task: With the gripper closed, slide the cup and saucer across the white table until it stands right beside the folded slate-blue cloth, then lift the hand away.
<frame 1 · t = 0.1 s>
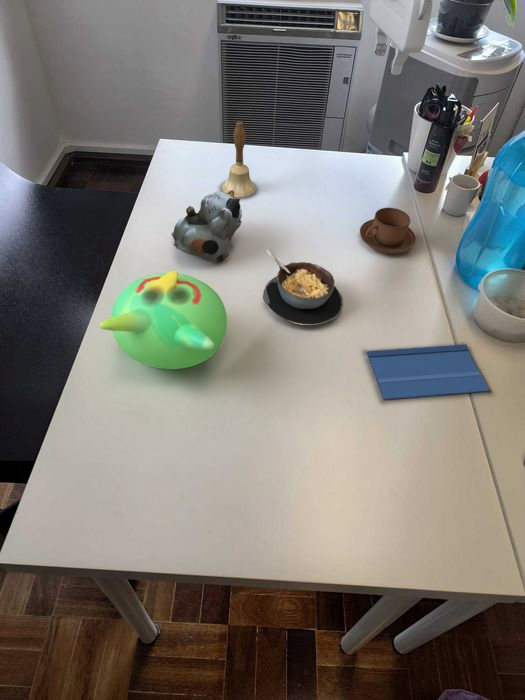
hand: (386, 63, 86), 31 cm above the table, tool pointing down, fingers open, 8 cm apart
lucky cat figurine: (206, 246, 99), on the table
cup and saucer: (385, 242, 103), on the table
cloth: (426, 371, 79), on the table
hand bell: (239, 189, 114), on the table
toy bird: (173, 352, 79), on the table
soup bowl: (301, 300, 89), on the table
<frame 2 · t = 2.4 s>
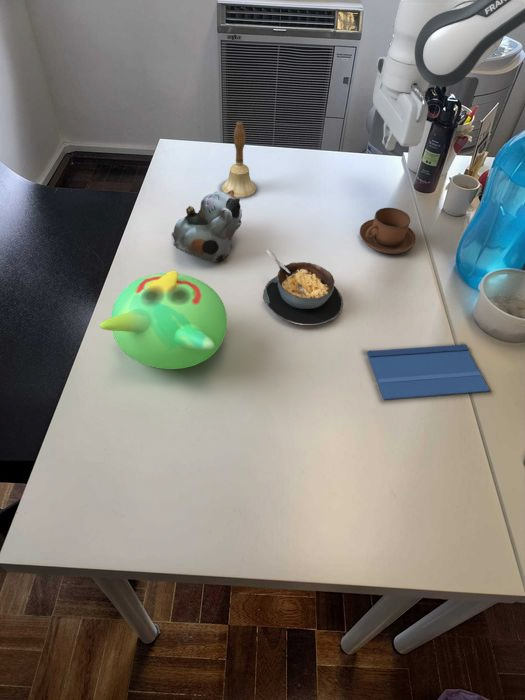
hand: (387, 147, 98), 16 cm above the table, tool pointing down, fingers closed
nothing on the table moved.
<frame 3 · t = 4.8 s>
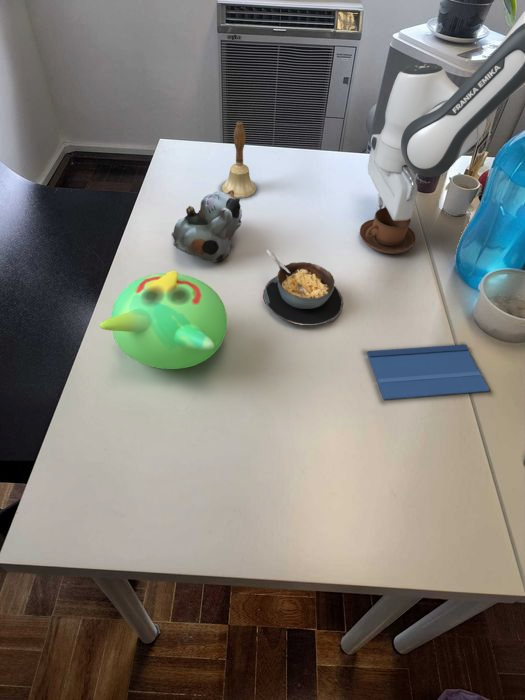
hand: (381, 214, 104), 3 cm above the table, tool pointing down, fingers closed
cup and saucer: (385, 242, 103), on the table, touching gripper
everything else where it was.
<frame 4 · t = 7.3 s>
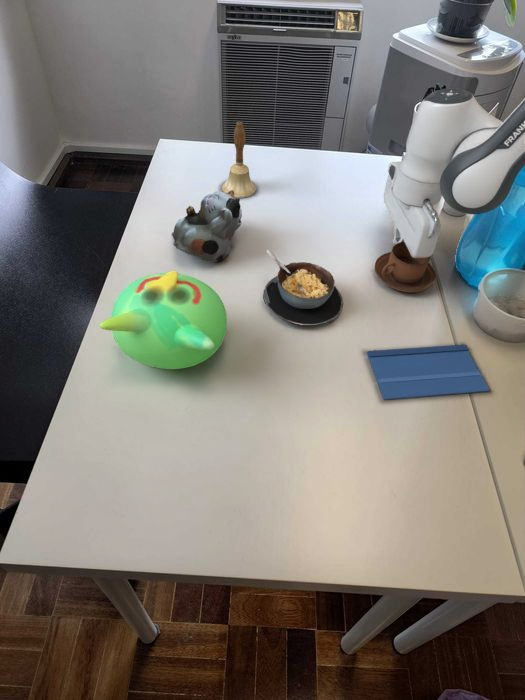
hand: (398, 247, 96), 3 cm above the table, tool pointing down, fingers closed
cup and saucer: (402, 278, 95), on the table, touching gripper
everything else where it was.
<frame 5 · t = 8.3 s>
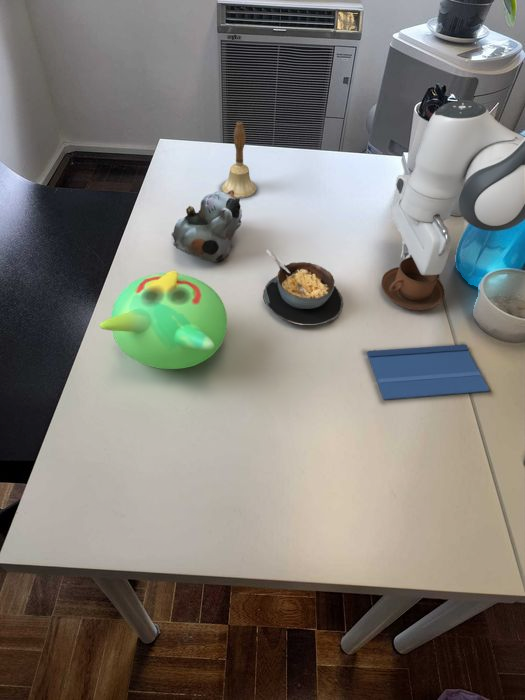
hand: (406, 262, 93), 3 cm above the table, tool pointing down, fingers closed
cup and saucer: (409, 294, 92), on the table, touching gripper
everything else where it was.
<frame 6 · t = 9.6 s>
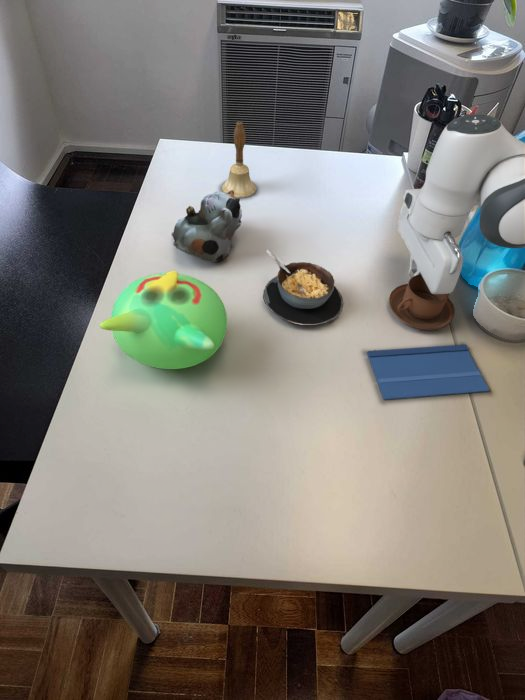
hand: (414, 279, 90), 3 cm above the table, tool pointing down, fingers closed
cup and saucer: (418, 312, 89), on the table, touching gripper
everything else where it was.
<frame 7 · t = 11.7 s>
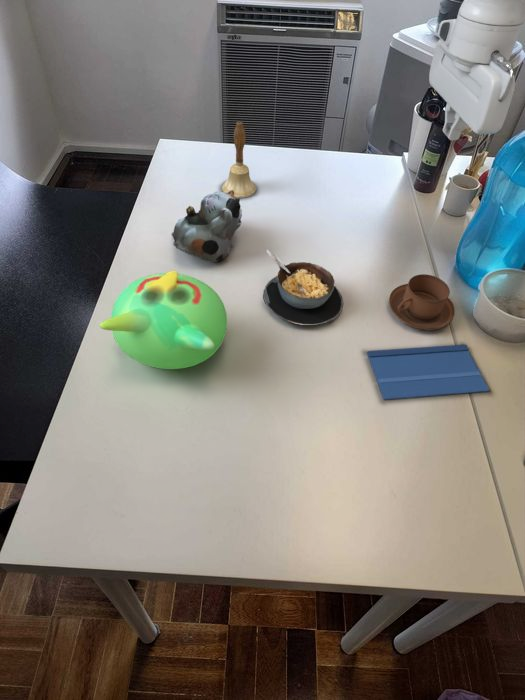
hand: (450, 136, 78), 27 cm above the table, tool pointing down, fingers closed
cup and saucer: (418, 312, 89), on the table
everything else where it was.
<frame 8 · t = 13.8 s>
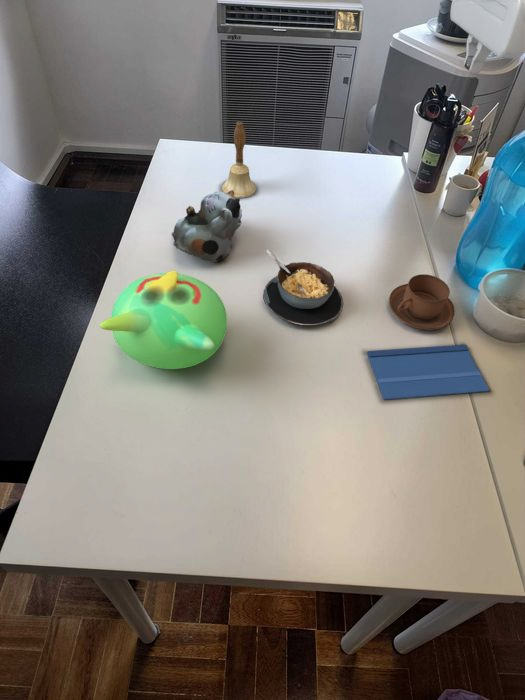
hand: (470, 70, 78), 34 cm above the table, tool pointing down, fingers closed
nothing on the table moved.
at the end: cup and saucer inside the target area on the table beside the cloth (3.7 cm from its centre), on the table; cup and saucer moved 22.0 cm from its start; cup and saucer tilted 0° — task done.
